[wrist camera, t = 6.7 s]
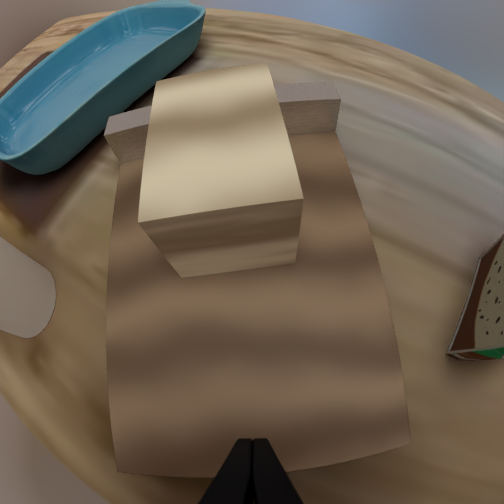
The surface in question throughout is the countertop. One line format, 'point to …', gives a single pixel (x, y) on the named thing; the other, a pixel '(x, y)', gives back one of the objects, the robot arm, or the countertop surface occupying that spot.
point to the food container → (483, 311)
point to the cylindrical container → (24, 293)
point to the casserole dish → (93, 82)
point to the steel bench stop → (291, 104)
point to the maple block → (220, 173)
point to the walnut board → (254, 340)
